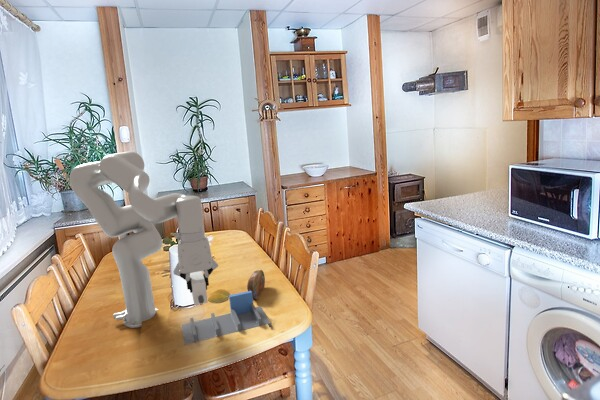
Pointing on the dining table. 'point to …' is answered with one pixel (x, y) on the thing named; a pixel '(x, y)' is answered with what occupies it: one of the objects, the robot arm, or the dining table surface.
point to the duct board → (227, 320)
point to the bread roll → (219, 296)
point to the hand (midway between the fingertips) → (198, 288)
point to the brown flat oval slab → (256, 283)
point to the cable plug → (198, 288)
